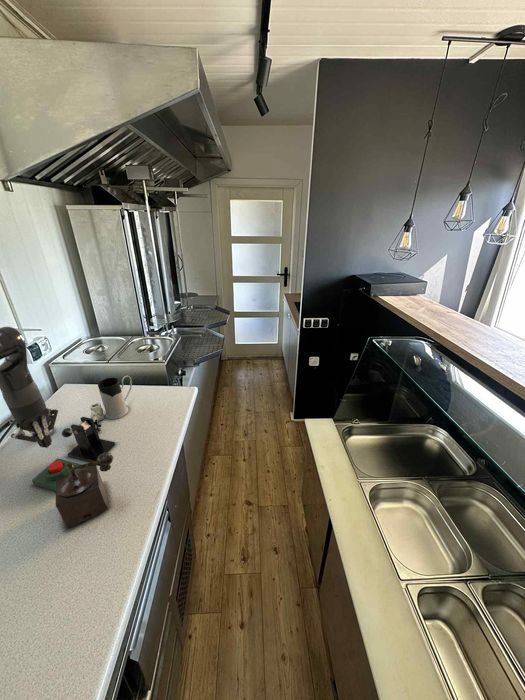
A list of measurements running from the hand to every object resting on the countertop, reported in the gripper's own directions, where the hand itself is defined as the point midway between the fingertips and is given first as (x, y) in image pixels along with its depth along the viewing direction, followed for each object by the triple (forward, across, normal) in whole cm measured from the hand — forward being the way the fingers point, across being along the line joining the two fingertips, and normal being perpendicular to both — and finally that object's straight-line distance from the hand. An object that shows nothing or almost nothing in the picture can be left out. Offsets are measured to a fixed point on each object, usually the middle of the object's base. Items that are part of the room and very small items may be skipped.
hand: (46, 445), depth 86 cm
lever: (+6, -12, -3) cm, 14 cm away
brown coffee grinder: (+14, +4, +18) cm, 23 cm away
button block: (+13, 0, 0) cm, 13 cm away
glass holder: (+14, -35, -5) cm, 38 cm away
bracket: (+13, -12, +1) cm, 18 cm away
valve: (+14, -24, -8) cm, 29 cm away
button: (+10, 0, 0) cm, 10 cm away
